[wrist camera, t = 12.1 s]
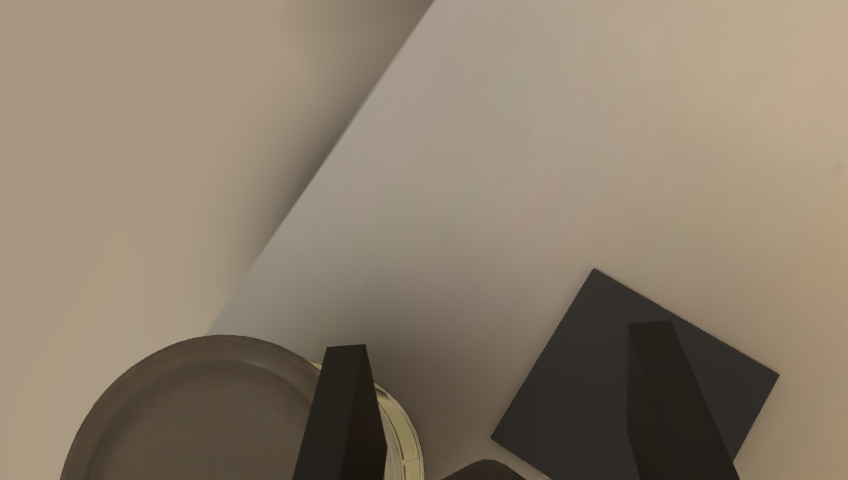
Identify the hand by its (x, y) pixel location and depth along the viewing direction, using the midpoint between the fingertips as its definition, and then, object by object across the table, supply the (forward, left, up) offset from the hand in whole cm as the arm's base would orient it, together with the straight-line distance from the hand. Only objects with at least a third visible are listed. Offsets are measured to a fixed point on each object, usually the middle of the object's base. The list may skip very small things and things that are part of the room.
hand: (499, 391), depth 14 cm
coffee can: (-6, -7, -22) cm, 24 cm away
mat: (+5, +4, -22) cm, 23 cm away
